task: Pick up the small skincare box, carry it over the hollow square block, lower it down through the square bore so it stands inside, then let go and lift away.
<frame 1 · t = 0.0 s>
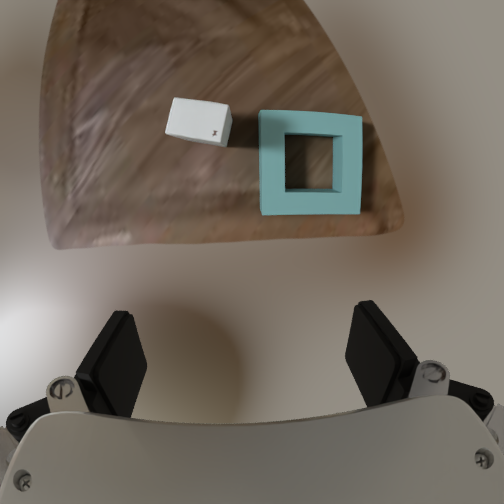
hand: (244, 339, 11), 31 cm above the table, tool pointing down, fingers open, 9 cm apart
skincare box: (209, 129, 37), on the table
hollow square block: (307, 161, 39), on the table
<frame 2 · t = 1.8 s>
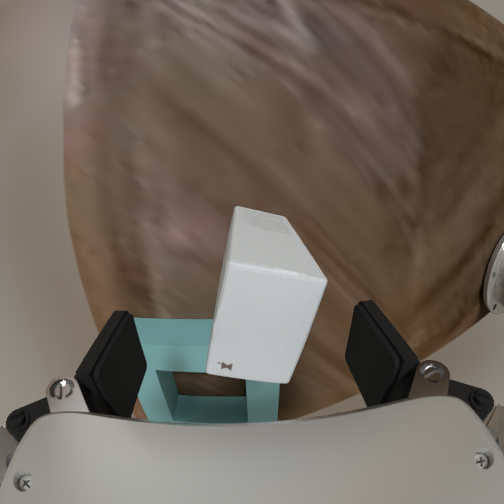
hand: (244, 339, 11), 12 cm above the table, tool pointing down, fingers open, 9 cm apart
skincare box: (253, 244, 23), on the table
hollow square block: (208, 372, 27), on the table
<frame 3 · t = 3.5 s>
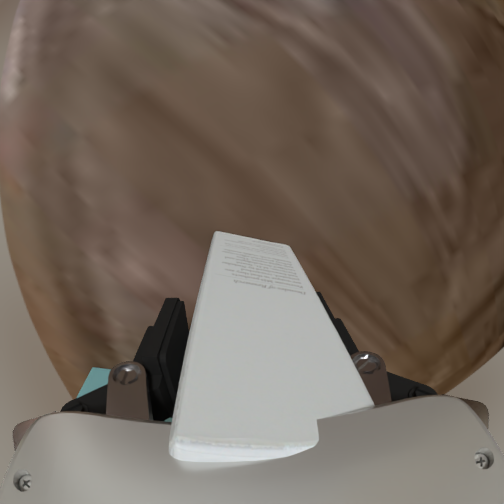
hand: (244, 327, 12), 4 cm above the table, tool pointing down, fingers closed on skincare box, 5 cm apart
skincare box: (242, 283, 16), on the table, touching gripper
hollow square block: (192, 427, 20), on the table
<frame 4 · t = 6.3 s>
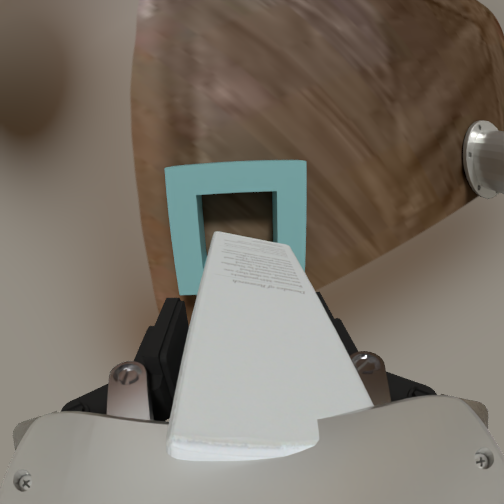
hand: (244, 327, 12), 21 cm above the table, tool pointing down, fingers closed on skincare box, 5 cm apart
skincare box: (242, 283, 16), point 17 cm above the table, touching gripper
hollow square block: (238, 222, 32), on the table
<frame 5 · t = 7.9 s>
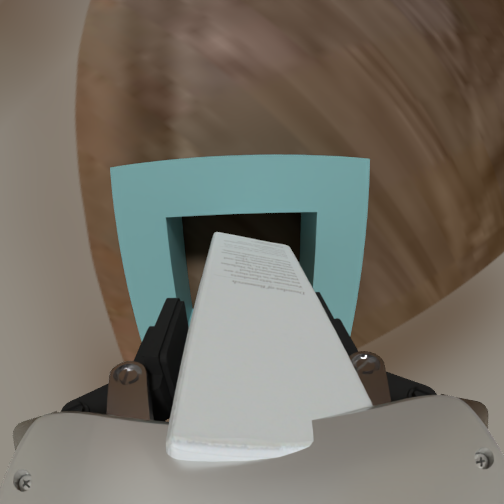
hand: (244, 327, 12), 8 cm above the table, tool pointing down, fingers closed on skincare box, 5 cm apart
skincare box: (242, 283, 16), point 4 cm above the table, touching gripper
hollow square block: (242, 258, 19), on the table
when the fingers open (5 cm above the table, at t = 9.2 s): skincare box drops 1 cm, resting in hollow square block.
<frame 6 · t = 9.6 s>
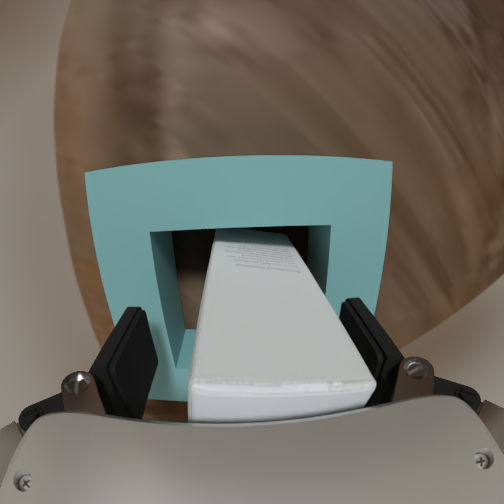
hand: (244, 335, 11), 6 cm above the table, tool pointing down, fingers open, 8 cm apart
skincare box: (246, 272, 17), resting in hollow square block
hollow square block: (241, 274, 17), on the table
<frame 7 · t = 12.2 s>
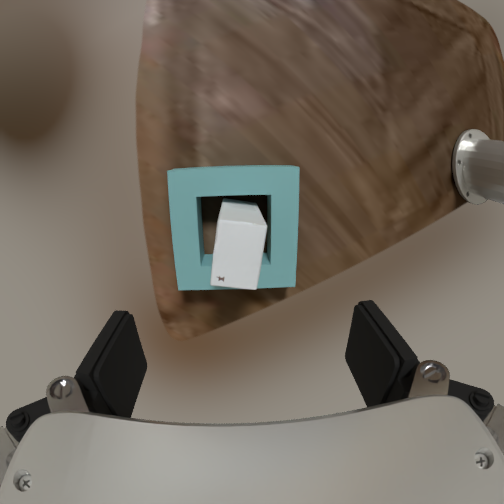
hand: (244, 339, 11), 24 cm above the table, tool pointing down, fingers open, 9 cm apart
skincare box: (236, 222, 34), resting in hollow square block
hollow square block: (234, 222, 34), on the table
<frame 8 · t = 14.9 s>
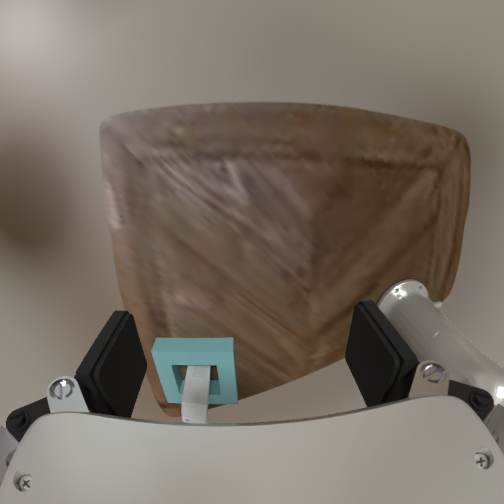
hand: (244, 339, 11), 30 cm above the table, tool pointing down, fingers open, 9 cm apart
skincare box: (200, 365, 50), resting in hollow square block
hollow square block: (198, 366, 49), on the table
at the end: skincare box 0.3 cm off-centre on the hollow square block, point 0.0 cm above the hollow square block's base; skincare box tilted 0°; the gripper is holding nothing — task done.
